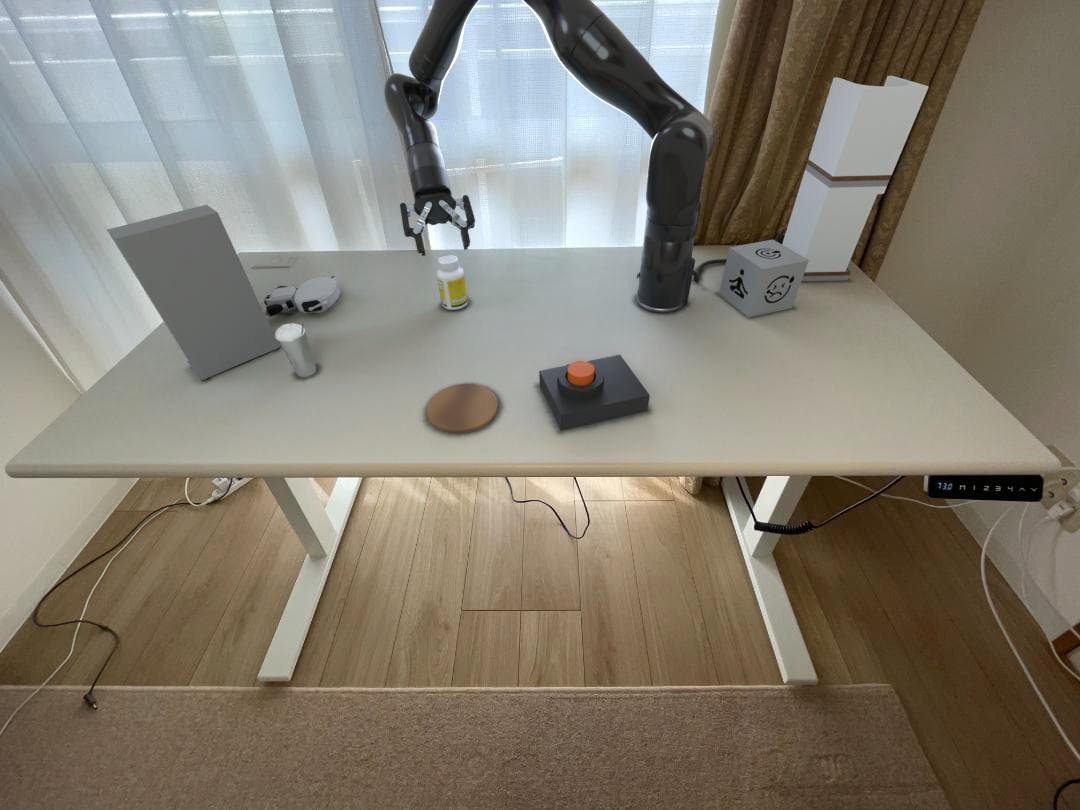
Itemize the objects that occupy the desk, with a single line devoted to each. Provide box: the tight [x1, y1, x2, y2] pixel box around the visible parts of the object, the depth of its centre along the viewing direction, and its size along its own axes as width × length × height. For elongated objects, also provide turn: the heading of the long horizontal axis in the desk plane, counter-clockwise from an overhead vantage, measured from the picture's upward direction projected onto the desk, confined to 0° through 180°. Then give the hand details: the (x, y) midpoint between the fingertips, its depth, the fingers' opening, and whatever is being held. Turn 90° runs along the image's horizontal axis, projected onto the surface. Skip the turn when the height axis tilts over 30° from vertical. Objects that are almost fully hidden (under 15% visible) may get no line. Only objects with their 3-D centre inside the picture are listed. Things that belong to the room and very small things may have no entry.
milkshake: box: [274, 322, 317, 378], centre depth 82 cm, size 4×5×10 cm
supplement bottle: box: [436, 254, 469, 311], centre depth 98 cm, size 5×5×10 cm
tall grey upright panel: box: [106, 204, 281, 381], centre depth 81 cm, size 14×6×25 cm, turn 135°
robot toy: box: [262, 273, 341, 318], centre depth 101 cm, size 12×4×15 cm
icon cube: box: [718, 239, 809, 318], centre depth 96 cm, size 10×10×10 cm
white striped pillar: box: [781, 75, 929, 282], centre depth 97 cm, size 11×11×35 cm
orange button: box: [568, 360, 594, 386], centre depth 74 cm, size 4×4×2 cm
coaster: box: [426, 383, 499, 434], centre depth 76 cm, size 11×11×1 cm
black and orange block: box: [538, 354, 651, 431], centre depth 76 cm, size 14×11×5 cm
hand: (445, 251), depth 98 cm, fingers open, 8 cm apart
